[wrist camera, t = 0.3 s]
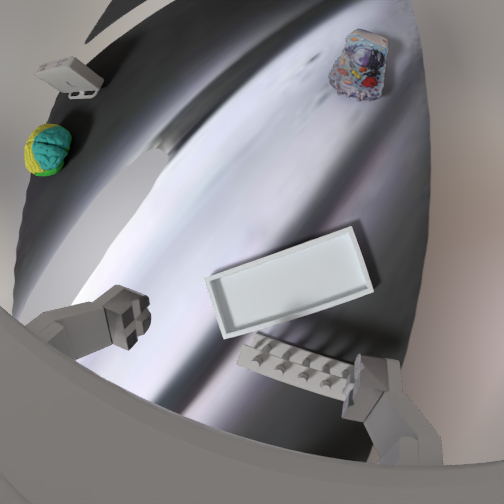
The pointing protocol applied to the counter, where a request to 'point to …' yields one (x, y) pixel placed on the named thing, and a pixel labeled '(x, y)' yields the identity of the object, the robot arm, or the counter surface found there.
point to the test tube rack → (296, 366)
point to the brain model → (47, 149)
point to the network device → (70, 77)
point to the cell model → (361, 66)
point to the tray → (289, 284)
